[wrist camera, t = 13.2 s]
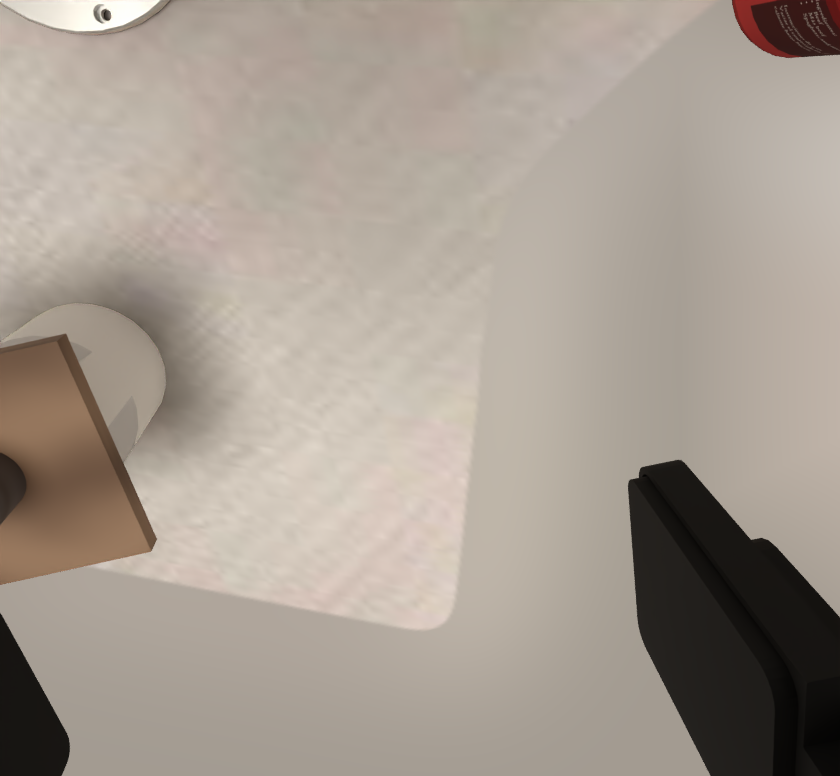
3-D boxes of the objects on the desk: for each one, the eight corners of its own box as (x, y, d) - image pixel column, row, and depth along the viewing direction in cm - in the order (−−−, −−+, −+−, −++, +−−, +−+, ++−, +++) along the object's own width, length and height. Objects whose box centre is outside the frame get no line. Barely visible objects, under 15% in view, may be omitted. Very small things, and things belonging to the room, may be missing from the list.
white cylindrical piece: (96, 274, 41) (-1, 342, 30) (196, 390, 44) (142, 490, 33) (-19, 354, 42) (-152, 448, 31) (87, 461, 46) (0, 579, 35)
